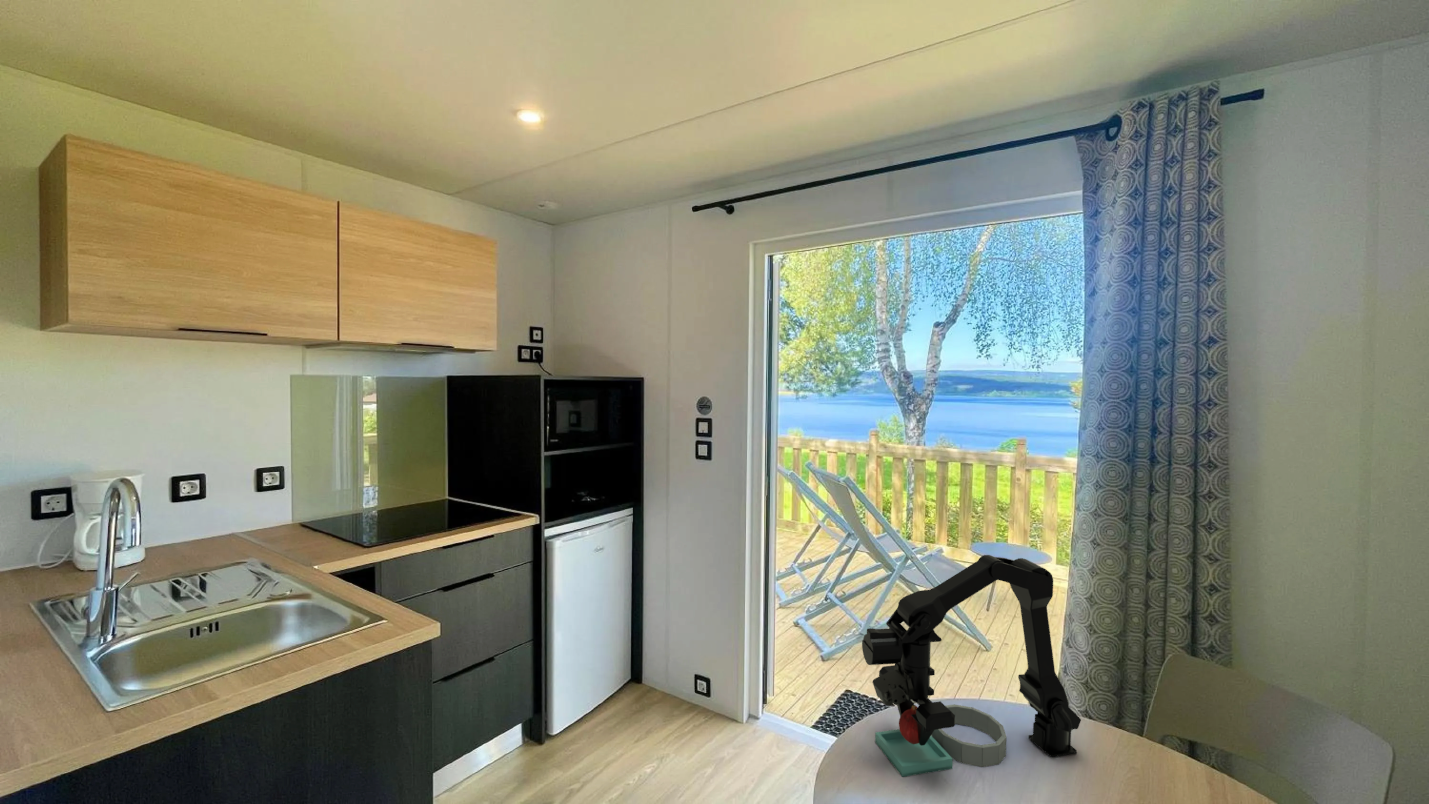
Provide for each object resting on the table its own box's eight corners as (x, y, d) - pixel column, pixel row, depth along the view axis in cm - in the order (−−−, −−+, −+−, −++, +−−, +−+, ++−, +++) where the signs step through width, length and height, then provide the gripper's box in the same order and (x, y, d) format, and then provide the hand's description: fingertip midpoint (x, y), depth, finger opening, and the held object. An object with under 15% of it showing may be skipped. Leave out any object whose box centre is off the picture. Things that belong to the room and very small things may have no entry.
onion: (930, 755, 112) (931, 716, 112) (900, 751, 113) (901, 713, 113) (925, 736, 118) (926, 699, 117) (896, 732, 119) (897, 696, 118)
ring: (974, 718, 128) (974, 701, 128) (1020, 760, 114) (1021, 741, 114) (918, 726, 125) (918, 709, 125) (958, 770, 111) (959, 751, 111)
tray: (921, 735, 122) (921, 725, 122) (952, 768, 112) (952, 758, 112) (875, 741, 120) (875, 732, 120) (902, 776, 109) (902, 766, 109)
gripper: (857, 643, 122) (856, 713, 123) (904, 691, 104) (902, 772, 105) (903, 638, 124) (902, 706, 125) (957, 683, 106) (955, 763, 107)
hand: (913, 735), depth 115 cm, fingers closed on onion, 6 cm apart
